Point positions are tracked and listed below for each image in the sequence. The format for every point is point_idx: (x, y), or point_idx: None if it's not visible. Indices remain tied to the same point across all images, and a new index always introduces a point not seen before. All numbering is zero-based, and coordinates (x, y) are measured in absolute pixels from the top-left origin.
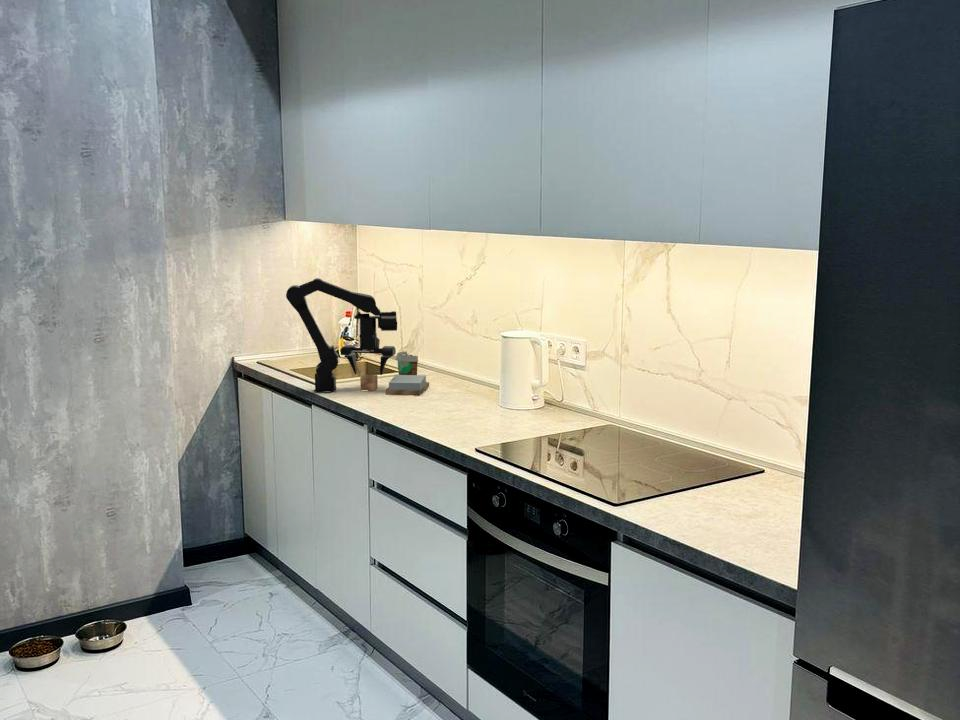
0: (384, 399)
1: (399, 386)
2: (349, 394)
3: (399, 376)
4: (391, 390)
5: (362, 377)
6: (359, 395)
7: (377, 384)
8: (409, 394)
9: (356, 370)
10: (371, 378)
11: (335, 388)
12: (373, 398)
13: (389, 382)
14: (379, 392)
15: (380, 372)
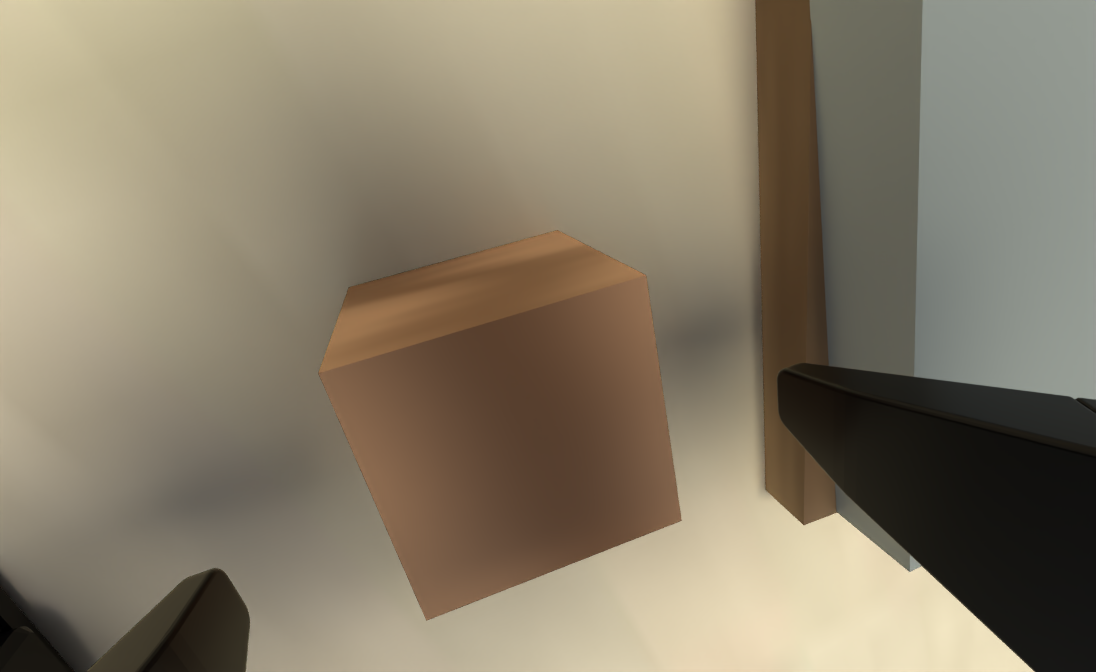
0: (804, 633)
1: None
2: (409, 664)
3: (1008, 59)
4: None
5: (468, 599)
6: (537, 641)
7: (578, 244)
8: None
9: (195, 665)
10: (628, 527)
11: (50, 651)
12: (711, 655)
13: (916, 563)
14: (673, 432)
15: (829, 467)
